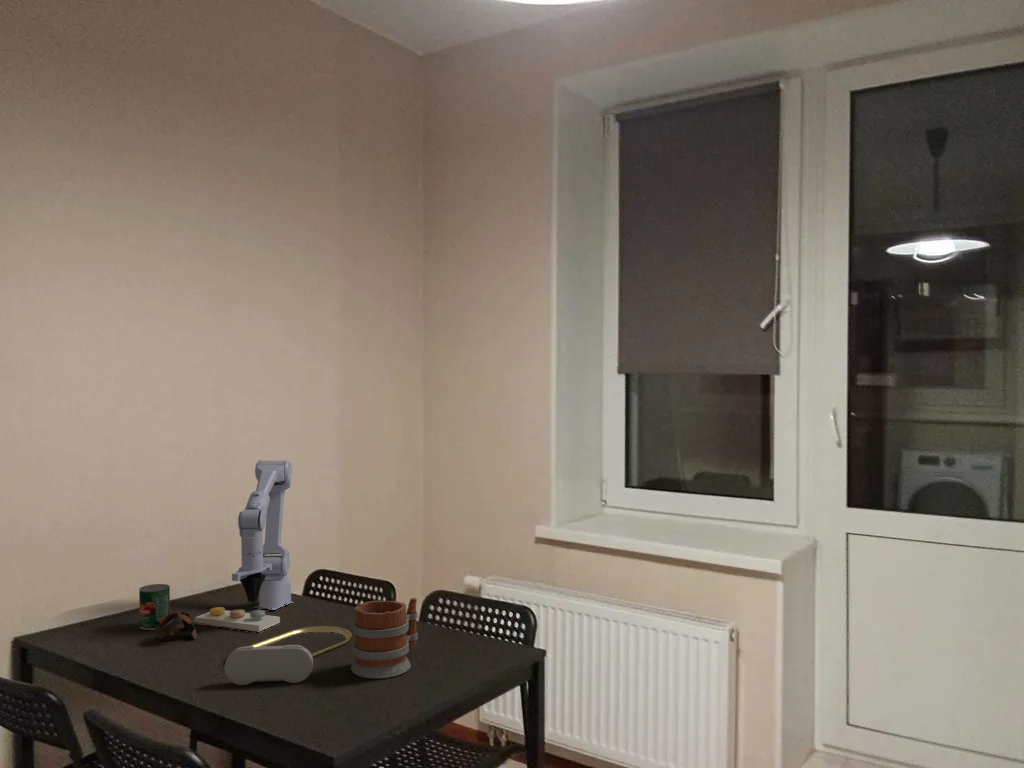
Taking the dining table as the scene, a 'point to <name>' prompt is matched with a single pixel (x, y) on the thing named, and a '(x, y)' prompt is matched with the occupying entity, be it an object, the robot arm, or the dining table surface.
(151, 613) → the canned tomato
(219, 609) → the button amber
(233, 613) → the button terracotta
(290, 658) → the game controller
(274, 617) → the button panel
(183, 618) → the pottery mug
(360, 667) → the mug
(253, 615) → the button slate
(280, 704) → the dining table surface
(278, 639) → the u-shaped metal loop
